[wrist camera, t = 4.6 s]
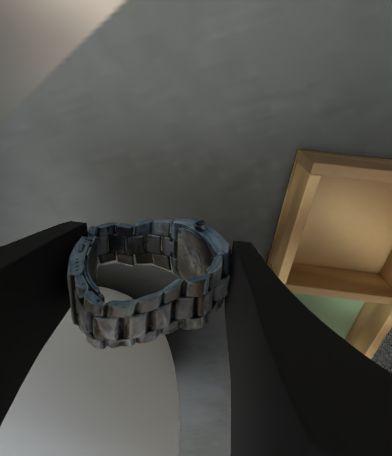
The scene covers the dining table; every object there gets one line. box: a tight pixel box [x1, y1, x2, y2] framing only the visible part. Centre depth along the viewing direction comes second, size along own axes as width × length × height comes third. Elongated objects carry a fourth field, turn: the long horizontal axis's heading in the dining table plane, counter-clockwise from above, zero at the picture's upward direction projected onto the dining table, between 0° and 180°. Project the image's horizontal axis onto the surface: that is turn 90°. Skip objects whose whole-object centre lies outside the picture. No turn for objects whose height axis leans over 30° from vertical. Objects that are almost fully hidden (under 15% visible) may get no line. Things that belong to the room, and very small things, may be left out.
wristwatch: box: [67, 218, 231, 349], centre depth 9 cm, size 3×5×5 cm
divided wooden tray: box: [267, 150, 392, 359], centre depth 18 cm, size 16×8×3 cm, turn 175°
